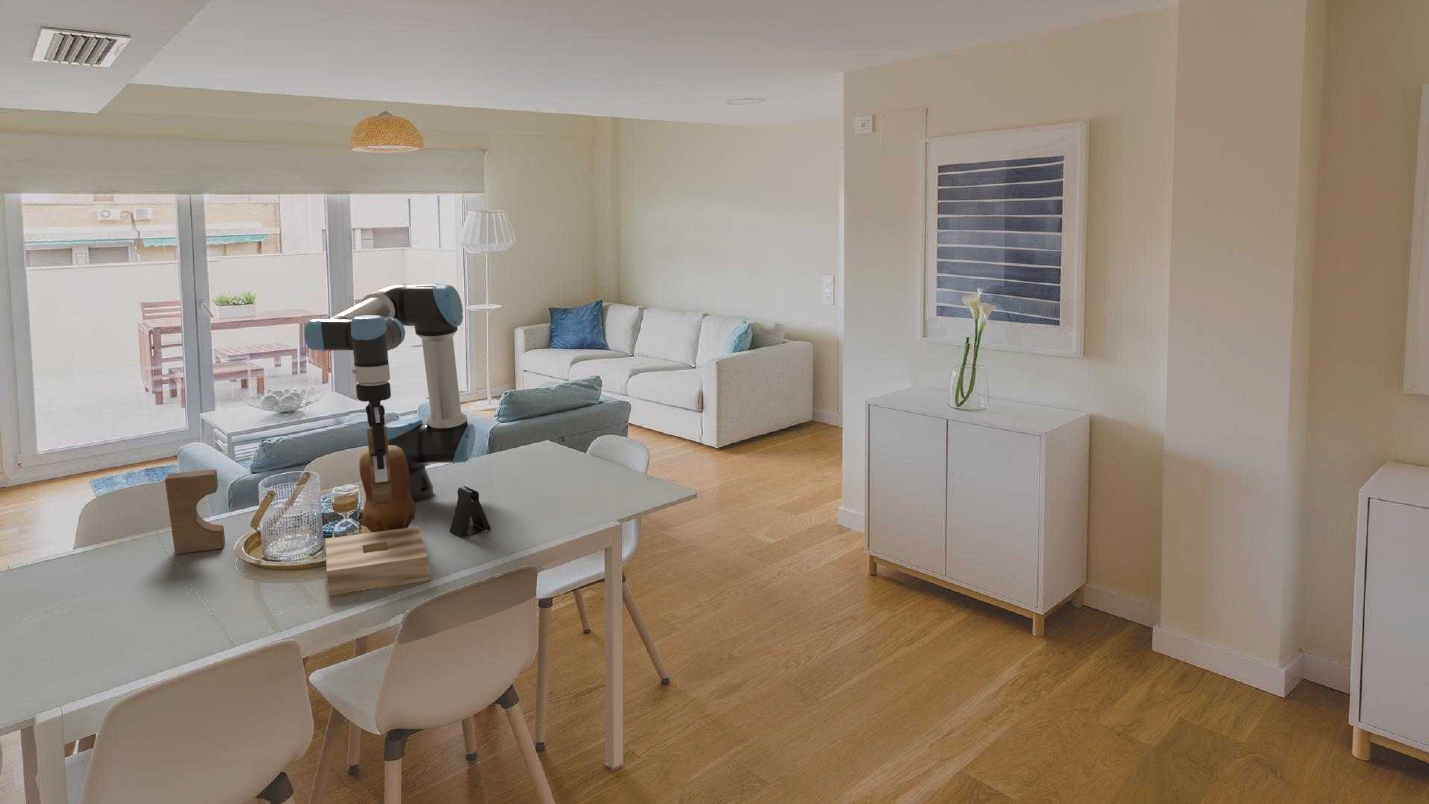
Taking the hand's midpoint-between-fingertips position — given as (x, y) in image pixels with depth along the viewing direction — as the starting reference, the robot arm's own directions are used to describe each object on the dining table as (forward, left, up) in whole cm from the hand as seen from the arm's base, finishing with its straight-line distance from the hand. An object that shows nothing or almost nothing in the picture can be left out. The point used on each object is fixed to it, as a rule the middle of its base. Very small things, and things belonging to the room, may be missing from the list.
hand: (380, 478), depth 223 cm
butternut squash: (-22, +3, -23) cm, 32 cm away
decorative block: (-33, -43, -23) cm, 59 cm away
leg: (0, 0, -6) cm, 6 cm away
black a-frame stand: (-19, +23, -23) cm, 37 cm away
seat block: (0, -2, -23) cm, 23 cm away
